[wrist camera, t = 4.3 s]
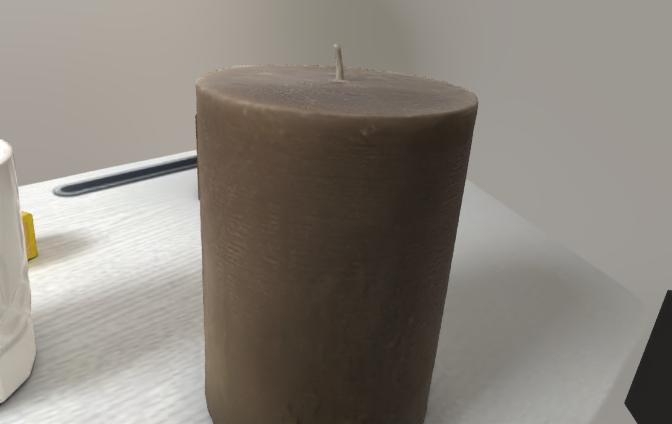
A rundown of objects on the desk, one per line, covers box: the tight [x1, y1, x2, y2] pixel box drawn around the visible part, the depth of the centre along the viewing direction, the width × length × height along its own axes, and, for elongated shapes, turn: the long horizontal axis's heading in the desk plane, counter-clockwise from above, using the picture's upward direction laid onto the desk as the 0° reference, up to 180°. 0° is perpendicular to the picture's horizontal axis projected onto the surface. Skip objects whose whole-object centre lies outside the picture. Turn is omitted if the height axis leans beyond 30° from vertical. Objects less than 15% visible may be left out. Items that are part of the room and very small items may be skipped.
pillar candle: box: [195, 44, 478, 424], centre depth 20 cm, size 10×10×15 cm
